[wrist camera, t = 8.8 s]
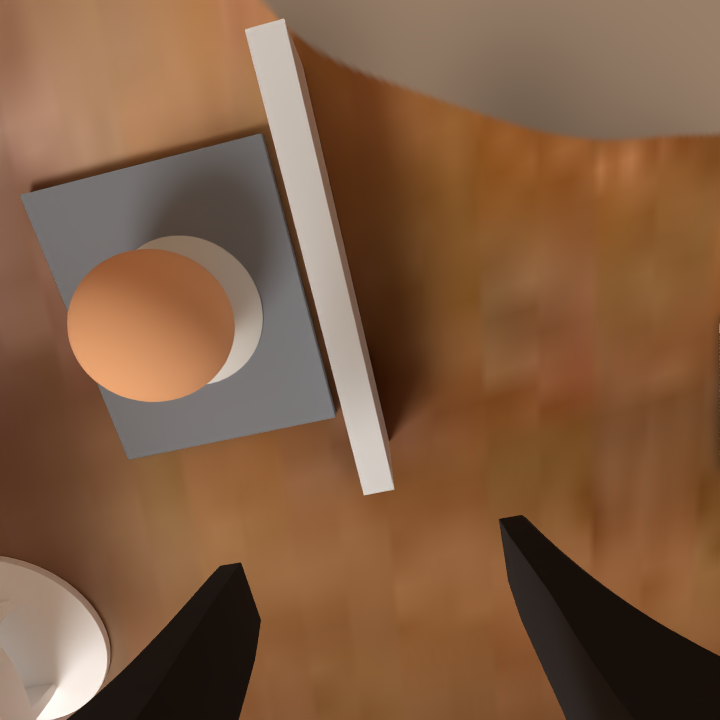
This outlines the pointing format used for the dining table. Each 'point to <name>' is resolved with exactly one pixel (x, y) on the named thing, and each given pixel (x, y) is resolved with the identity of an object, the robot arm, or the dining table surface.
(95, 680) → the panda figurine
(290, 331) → the mat
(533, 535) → the robot arm
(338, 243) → the fence
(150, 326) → the ball
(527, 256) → the dining table surface
